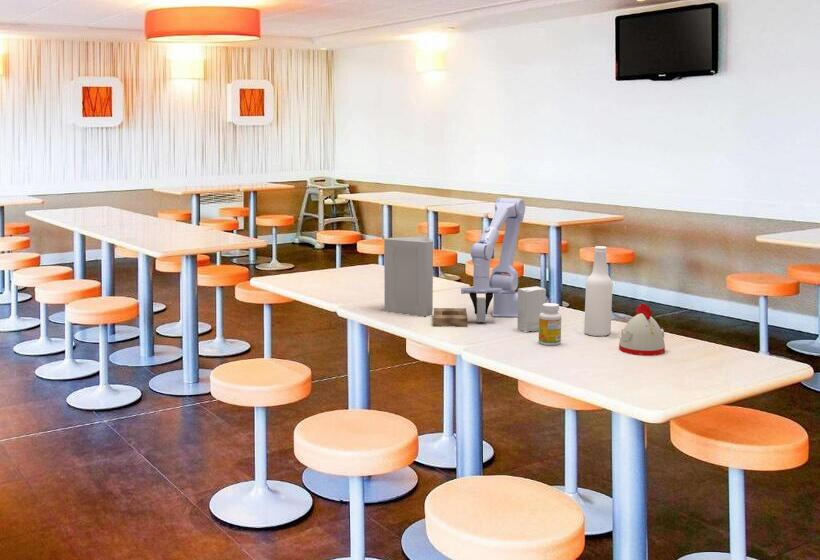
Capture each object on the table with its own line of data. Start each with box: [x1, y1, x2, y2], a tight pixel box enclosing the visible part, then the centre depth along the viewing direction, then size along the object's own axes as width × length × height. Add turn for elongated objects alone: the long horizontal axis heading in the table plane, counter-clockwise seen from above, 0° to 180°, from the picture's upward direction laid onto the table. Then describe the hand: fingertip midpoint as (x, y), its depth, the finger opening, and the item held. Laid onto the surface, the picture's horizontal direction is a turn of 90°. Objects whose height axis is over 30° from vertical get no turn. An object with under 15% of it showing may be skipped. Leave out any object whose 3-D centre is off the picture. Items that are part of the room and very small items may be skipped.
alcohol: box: [583, 245, 613, 337], centre depth 293 cm, size 9×9×30 cm
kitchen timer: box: [618, 302, 666, 357], centre depth 272 cm, size 14×14×15 cm
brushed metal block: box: [475, 296, 487, 323], centre depth 311 cm, size 3×5×8 cm, turn 178°
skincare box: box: [517, 285, 547, 333], centre depth 299 cm, size 8×6×15 cm
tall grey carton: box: [383, 236, 434, 317], centre depth 330 cm, size 19×15×28 cm
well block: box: [433, 307, 469, 328], centre depth 314 cm, size 12×18×3 cm, turn 178°
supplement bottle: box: [538, 302, 562, 346], centre depth 281 cm, size 7×7×13 cm
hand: (480, 313), depth 312 cm, fingers closed on brushed metal block, 3 cm apart
